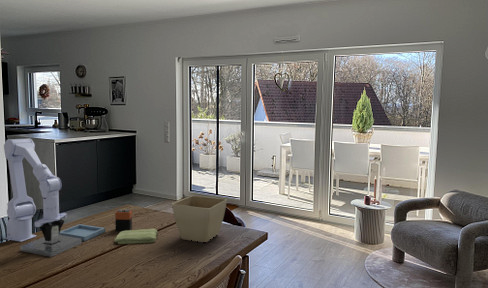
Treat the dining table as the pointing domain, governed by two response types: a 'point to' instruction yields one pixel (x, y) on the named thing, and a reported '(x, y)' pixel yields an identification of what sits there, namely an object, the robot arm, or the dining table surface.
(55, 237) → the pin
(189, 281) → the dining table surface
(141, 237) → the washcloth
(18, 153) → the robot arm
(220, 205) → the flower pot
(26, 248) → the pin plate
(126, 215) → the battery
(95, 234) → the tray
